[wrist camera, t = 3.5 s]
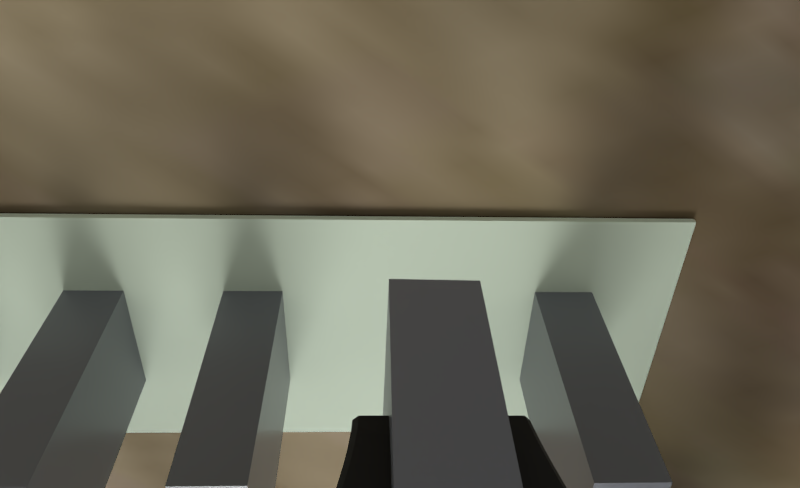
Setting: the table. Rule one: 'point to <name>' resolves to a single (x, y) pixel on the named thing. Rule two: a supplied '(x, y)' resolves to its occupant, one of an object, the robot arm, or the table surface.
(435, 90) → the table surface
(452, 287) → the tile
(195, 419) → the tile
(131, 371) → the dark grey block
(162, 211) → the table surface
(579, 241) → the felt strip
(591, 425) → the tile
